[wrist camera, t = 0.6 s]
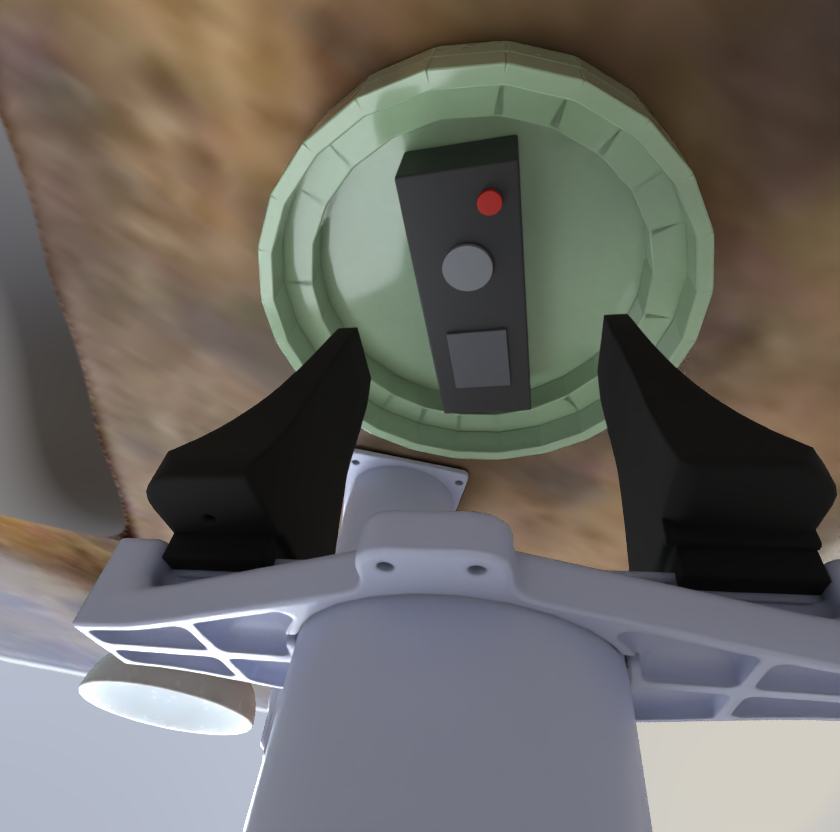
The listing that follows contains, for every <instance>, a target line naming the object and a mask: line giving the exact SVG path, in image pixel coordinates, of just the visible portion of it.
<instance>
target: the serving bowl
mask: <svg viewBox="0 0 840 832" xmlns="http://www.w3.org/2000/svg"><path fill="white" fill-rule="evenodd" d="M78 691H79V693H80V695H81V696H82V697H83V698H84V699H86V700H87V701H88V702H90V703H92V704H94V705H95V706H97V707H99V708H101V709H104V710H106V711H109V712H112V713H114V714H117V715H120V716H123V717H126V718H129V719H132V720H135V721H139V722H142V723H146V724H150V725H154V726H159V727H163V728H168V729H173V730H179V731H185V732H194V733H201V734H216V735H230V734H240V733H245V732H247V731H249V730H250V729H251V728H252V727H253V723H254V717H255V707H256V702H255V694H254V690H253V688H252V685H251V683H249V682H244V681H239V680H234V679H229V678H223V677H218V676H213V675H208V674H202V673H196V672H191V671H185V670H178V669H171V668H163V667H156V666H146V665H136V664H126V663H124V662H123V661H121V660H120V659H119V658H117V657H116V656H114V655H113V654H112V653H109V654H108V655H106V656H105V657H104V658H102V659H101V660H100V661H99V662H98V663H97V664H96V665H95V666H94V667H93V668H92V669H91V670H90V671H89V673H88V674H87V675H86V677H85V678H84V680H83V681H82V682H81V684H80V686H79V689H78Z"/></svg>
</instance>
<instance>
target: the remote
mask: <svg viewBox="0 0 840 832" xmlns="http://www.w3.org/2000/svg"><path fill="white" fill-rule="evenodd" d="M395 184H396V189H397V193H398V198H399V203H400V207H401V212H402V217H403V222H404V226H405V231H406V236H407V240H408V245H409V250H410V255H411V259H412V264H413V269H414V273H415V278H416V283H417V288H418V292H419V297H420V302H421V306H422V311H423V316H424V320H425V325H426V330H427V335H428V339H429V344H430V349H431V353H432V358H433V363H434V368H435V372H436V377H437V382H438V386H439V391H440V396H441V400H442V405H443V410H444V413H445V414H449V413H471V412H492V411H514V410H530V409H531V389H530V367H529V347H528V326H527V306H526V286H525V266H524V246H523V226H522V206H521V186H520V166H519V146H518V136H517V135H511V136H504V137H498V138H491V139H485V140H479V141H472V142H466V143H459V144H453V145H447V146H440V147H434V148H427V149H421V150H415V151H408V152H405V153H404V155H403V157H402V160H401V163H400V165H399V168H398V170H397V173H396V176H395Z"/></svg>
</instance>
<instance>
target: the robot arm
mask: <svg viewBox="0 0 840 832" xmlns="http://www.w3.org/2000/svg"><path fill="white" fill-rule="evenodd" d="M597 373H598V383H599V392H600V401H601V405H602V409H603V413H604V417H605V421H606V425H607V429H608V433H609V437H610V441H611V445H612V449H613V453H614V456H615V460H616V465H617V470H618V475H619V483H620V490H621V498H622V506H623V515H624V523H625V532H626V542H627V552H628V562H629V571H608V570H600V569H596V568H591V567H586V566H582V565H577V564H573V563H568V562H563V561H559V560H554V559H550V558H545V557H540V556H536V555H531V554H527V553H522V552H518V551H515V550H514V547H513V534H512V532H511V530H510V528H509V526H508V524H507V523H505V522H504V521H502V520H500V519H498V518H497V517H495V516H493V515H491V514H486V513H481V512H475V511H456V509H457V506H458V504H459V501H460V498H461V496H462V493H463V491H464V488H465V486H466V483H467V480H468V473H467V472H466V471H465V470H462V469H457V468H452V467H447V466H442V465H436V464H431V463H426V462H421V461H416V460H411V459H406V458H401V457H396V456H391V455H386V454H381V453H376V452H371V451H366V450H361V449H355V445H356V442H357V439H358V435H359V432H360V429H361V426H362V422H363V419H364V415H365V412H366V408H367V404H368V398H369V392H370V384H371V375H370V372H369V368H368V364H367V361H366V357H365V353H364V350H363V346H362V342H361V339H360V335H359V331H358V328H357V327H352V328H338V329H337V330H336V331H335V332H334V333H333V334H332V335H331V336H330V337H329V338H328V339H327V340H326V341H325V343H324V344H323V345H322V346H321V347H320V348H319V349H318V350H317V351H316V352H315V353H314V354H313V355H312V356H311V357H310V358H309V359H308V360H307V361H306V362H305V363H304V364H303V365H302V366H301V367H300V368H299V369H298V370H297V371H296V372H295V373H294V374H293V375H292V376H291V377H290V378H289V379H287V380H286V381H285V382H284V383H283V384H282V385H281V386H280V387H279V388H277V389H276V390H275V391H274V392H273V393H271V394H270V395H269V396H267V397H266V398H265V399H263V400H262V401H261V402H259V403H258V404H257V405H255V406H254V407H252V408H251V409H249V410H248V411H246V412H245V413H243V414H242V415H240V416H238V417H237V418H235V419H234V420H232V421H230V422H229V423H227V424H225V425H223V426H222V427H220V428H218V429H216V430H214V431H212V432H210V433H208V434H207V435H205V436H202V437H200V438H198V439H196V440H194V441H192V442H189V443H187V444H185V445H182V446H180V447H178V448H176V449H173V450H171V451H169V452H168V453H167V455H166V456H165V458H164V460H163V461H162V463H161V465H160V466H159V468H158V470H157V471H156V473H155V475H154V476H153V478H152V480H151V481H150V483H149V485H148V487H147V491H146V493H147V497H148V500H149V502H150V504H151V505H152V507H153V508H154V510H155V511H156V512H157V513H158V514H159V515H160V517H161V518H162V519H163V520H164V521H165V523H166V524H167V525H168V526H169V527H170V528H171V530H172V531H173V532H174V535H173V537H172V539H171V541H170V543H169V544H168V543H167V542H165V541H162V540H158V539H138V538H124V539H121V541H120V543H119V544H118V546H117V548H116V549H115V551H114V553H113V555H112V556H111V558H110V560H109V561H108V563H107V565H106V566H105V568H104V570H103V571H102V573H101V575H100V577H99V578H98V580H97V582H96V583H95V585H94V587H93V588H92V590H91V592H90V594H89V595H88V597H87V599H86V600H85V602H84V604H83V605H82V607H81V609H80V611H79V612H78V614H77V616H76V617H75V619H74V621H73V622H72V624H73V626H74V627H75V628H76V629H78V630H79V631H81V632H82V633H83V634H85V635H86V636H88V637H89V638H90V639H92V640H93V641H95V642H96V643H97V644H99V645H100V646H102V647H103V648H105V649H106V650H107V651H109V652H110V653H112V654H113V655H114V656H116V657H117V658H119V659H120V660H121V661H123V662H124V663H126V664H136V665H146V666H156V667H163V668H171V669H178V670H185V671H191V672H196V673H202V674H208V675H213V676H218V677H223V678H229V679H234V680H239V681H244V682H249V683H254V684H260V685H265V686H270V687H271V691H270V697H269V703H268V714H267V718H266V722H265V726H264V730H263V734H262V738H261V747H262V749H263V762H262V765H261V769H260V772H259V776H258V779H257V783H256V787H255V790H254V793H253V797H252V801H251V804H250V808H249V811H248V815H247V818H246V822H245V826H244V829H243V832H652V826H651V819H650V813H649V806H648V800H647V793H646V786H645V779H644V773H643V766H642V760H641V753H640V747H639V740H638V733H637V727H636V722H681V721H735V720H827V721H828V720H829V721H840V559H838V560H833V561H830V562H827V563H826V564H823V562H822V560H821V558H820V555H819V553H818V551H817V550H820V548H821V547H822V542H821V540H820V538H819V536H818V534H817V532H816V528H817V527H818V526H819V524H820V523H821V521H822V520H823V518H824V517H825V515H826V514H827V512H828V511H829V510H830V508H831V507H832V505H833V503H834V501H835V498H836V496H837V491H836V485H835V483H834V481H833V479H832V477H831V476H830V474H829V472H828V470H827V468H826V467H825V465H824V463H823V462H822V460H821V459H820V457H819V456H818V455H817V453H816V452H815V450H814V449H813V447H810V446H808V445H805V444H803V443H801V442H798V441H796V440H793V439H791V438H789V437H786V436H784V435H781V434H779V433H777V432H774V431H772V430H770V429H768V428H766V427H764V426H762V425H760V424H758V423H756V422H754V421H752V420H750V419H749V418H747V417H745V416H743V415H741V414H739V413H738V412H736V411H734V410H733V409H731V408H730V407H728V406H726V405H725V404H723V403H721V402H720V401H718V400H717V399H715V398H714V397H712V396H711V395H709V394H708V393H707V392H705V391H704V390H703V389H701V388H700V387H699V386H697V385H696V384H695V383H693V382H692V381H691V380H690V379H689V378H687V377H686V376H685V375H684V374H683V373H682V372H681V371H679V370H678V369H677V368H676V367H675V366H674V365H673V364H672V363H671V362H670V361H669V360H668V359H667V358H666V357H665V356H664V355H663V354H662V353H661V352H660V351H659V350H658V349H657V348H656V347H655V345H654V344H653V343H652V342H651V341H650V340H649V339H648V338H647V336H646V335H645V334H644V333H643V332H642V330H641V329H640V328H639V327H638V326H637V324H636V323H635V322H634V321H633V320H632V318H631V317H630V316H629V315H628V314H611V315H604V320H603V328H602V336H601V344H600V353H599V361H598V369H597ZM458 480H459V481H458ZM345 485H346V487H345ZM344 491H345V497H344V506H343V516H342V525H341V528H340V532H339V536H338V529H339V522H340V515H341V509H342V502H343V496H344ZM337 537H338V540H337Z"/></svg>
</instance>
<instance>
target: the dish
mask: <svg viewBox="0 0 840 832" xmlns="http://www.w3.org/2000/svg"><path fill="white" fill-rule="evenodd" d="M511 135H517V136H518V146H519V166H520V186H521V206H522V226H523V246H524V266H525V286H526V306H527V326H528V347H529V367H530V389H531V409H530V410H514V411H492V412H471V413H449V414H445V413H444V410H443V405H442V400H441V396H440V391H439V386H438V382H437V377H436V372H435V368H434V363H433V358H432V353H431V349H430V344H429V339H428V335H427V330H426V325H425V320H424V316H423V311H422V306H421V302H420V297H419V292H418V288H417V283H416V278H415V273H414V269H413V264H412V259H411V255H410V250H409V245H408V240H407V236H406V231H405V226H404V222H403V217H402V212H401V207H400V203H399V198H398V193H397V189H396V184H395V176H396V173H397V170H398V168H399V165H400V163H401V160H402V157H403V155H404V153H405V152H408V151H415V150H421V149H427V148H434V147H440V146H447V145H453V144H459V143H466V142H472V141H479V140H485V139H491V138H498V137H504V136H511ZM713 232H714V230H713V227H712V224H711V221H710V218H709V215H708V212H707V210H706V207H705V204H704V201H703V198H702V195H701V192H700V189H699V186H698V183H697V181H696V178H695V175H694V173H693V171H692V170H691V168H690V166H689V165H688V163H687V162H686V160H685V158H684V157H683V155H682V154H681V152H680V151H679V149H678V147H677V146H676V144H675V143H674V141H673V140H672V138H671V137H670V136H669V135H668V133H667V132H666V131H665V130H664V128H663V127H662V126H661V125H660V123H659V122H658V121H657V120H656V119H655V117H654V116H653V115H652V114H651V112H650V111H649V110H648V109H647V107H646V106H645V105H644V104H643V102H642V101H641V100H640V99H639V97H638V96H637V95H636V94H635V93H633V91H632V90H630V89H628V88H627V87H625V86H624V85H622V84H620V83H619V82H617V81H615V80H614V79H612V78H611V77H609V76H607V75H606V74H604V73H602V72H601V71H599V70H598V69H596V68H594V67H593V66H591V65H590V64H588V63H586V62H585V61H583V60H581V59H580V58H578V57H575V56H573V55H569V54H565V53H560V52H556V51H552V50H547V49H543V48H539V47H534V46H530V45H526V44H521V43H517V42H513V41H507V42H506V41H505V40H504V41H493V42H482V43H471V44H460V45H449V46H438V47H436V49H435V48H432V49H429V50H427V51H425V52H422V53H420V54H417V55H415V56H413V57H410V58H408V59H406V60H403V61H401V62H399V63H396V64H394V65H391V66H389V67H387V68H384V69H382V70H380V71H377V72H375V73H374V74H373V75H370V76H369V77H368V78H367V79H365V80H364V81H363V82H362V83H361V84H360V85H358V86H357V87H356V88H355V89H354V90H353V91H351V92H350V93H349V94H348V95H347V96H346V97H344V98H343V99H342V100H341V101H340V102H338V103H337V104H336V105H335V106H334V107H333V108H331V109H330V110H329V111H328V112H327V113H326V114H325V115H324V116H323V117H322V118H321V120H320V121H319V122H318V124H317V125H316V126H315V127H314V129H313V130H312V131H311V132H310V134H309V135H308V136H307V137H306V139H305V140H304V141H303V143H302V144H301V146H300V147H299V149H298V150H297V152H296V154H295V155H294V157H293V158H292V160H291V162H290V163H289V165H288V167H287V168H286V170H285V171H284V173H283V175H282V176H281V178H280V180H279V181H278V183H277V184H276V186H275V188H274V189H273V191H272V192H271V195H270V198H269V202H268V206H267V210H266V214H265V219H264V223H263V227H262V231H261V235H260V239H259V243H258V263H259V278H260V294H261V301H262V304H263V307H264V310H265V312H266V315H267V318H268V321H269V323H270V326H271V329H272V332H273V335H274V337H275V340H276V343H277V344H278V346H279V347H280V349H281V350H282V352H283V353H284V355H285V356H286V358H287V359H288V361H289V362H290V363H291V365H292V366H293V368H294V369H295V371H297V370H298V369H299V368H300V367H301V366H302V365H303V364H304V363H305V362H306V361H307V360H308V359H309V358H310V357H311V356H312V355H313V354H314V353H315V352H316V351H317V350H318V349H319V348H320V347H321V346H322V345H323V344H324V343H325V341H326V340H327V339H328V338H329V337H330V336H331V335H332V334H333V333H334V332H335V331H336V330H337V329H338V328H352V327H357V328H358V331H359V335H360V339H361V342H362V346H363V350H364V353H365V357H366V361H367V364H368V368H369V372H370V375H371V384H370V392H369V398H368V404H367V408H366V412H365V415H364V419H363V422H362V426H361V428H363V429H364V430H366V431H367V432H369V433H371V434H373V435H375V436H378V437H380V438H383V439H386V440H388V441H391V442H393V443H396V444H398V445H401V446H404V447H406V448H409V449H413V450H415V451H420V452H425V453H430V454H435V455H440V456H445V457H450V458H457V459H490V460H499V459H500V460H501V459H509V458H516V457H523V456H530V455H537V454H543V453H548V452H551V451H554V450H557V449H560V448H563V447H566V446H569V445H572V444H575V443H578V442H581V441H584V440H587V439H588V438H591V437H593V436H595V435H596V434H598V433H600V432H602V431H603V430H605V429H607V425H606V421H605V417H604V413H603V409H602V405H601V401H600V392H599V383H598V373H597V369H598V361H599V353H600V344H601V336H602V328H603V320H604V315H611V314H628V315H629V316H630V317H631V318H632V320H633V321H634V322H635V323H636V324H637V326H638V327H639V328H640V329H641V330H642V332H643V333H644V334H645V335H646V336H647V338H648V339H649V340H650V341H651V342H652V343H653V344H654V345H655V347H656V348H657V349H658V350H659V351H660V352H661V353H662V354H663V355H664V356H665V357H666V358H667V359H668V360H669V361H670V362H671V363H672V364H673V365H674V366H675V367H676V368H678V367H679V365H680V364H681V362H682V361H683V359H684V358H685V357H686V355H687V354H688V352H689V351H690V349H691V348H692V346H693V345H694V344H695V341H696V340H697V337H698V334H699V331H700V328H701V325H702V322H703V319H704V317H705V314H706V311H707V308H708V305H709V302H710V299H711V296H712V293H713V289H714V233H713Z"/></svg>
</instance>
